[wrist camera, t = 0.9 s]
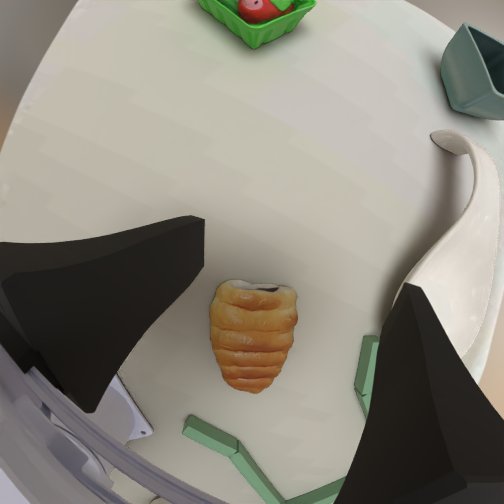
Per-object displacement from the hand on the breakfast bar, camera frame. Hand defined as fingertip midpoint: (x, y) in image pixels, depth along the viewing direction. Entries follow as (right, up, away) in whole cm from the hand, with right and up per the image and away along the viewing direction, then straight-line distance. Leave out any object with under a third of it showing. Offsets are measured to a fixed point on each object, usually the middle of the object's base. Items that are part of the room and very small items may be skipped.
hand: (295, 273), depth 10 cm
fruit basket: (-2, +25, +14) cm, 29 cm away
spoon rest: (+16, +1, +15) cm, 22 cm away
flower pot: (+23, +19, +15) cm, 34 cm away
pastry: (-1, -6, +14) cm, 15 cm away
